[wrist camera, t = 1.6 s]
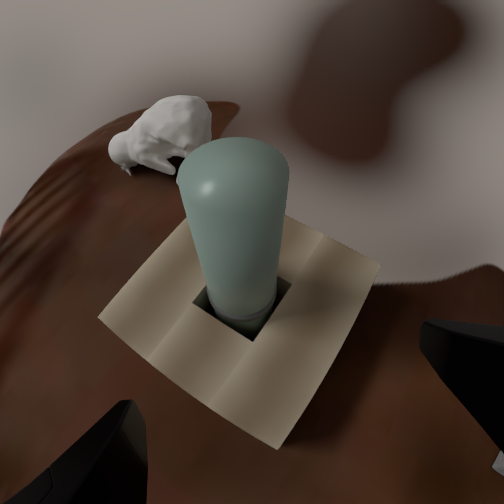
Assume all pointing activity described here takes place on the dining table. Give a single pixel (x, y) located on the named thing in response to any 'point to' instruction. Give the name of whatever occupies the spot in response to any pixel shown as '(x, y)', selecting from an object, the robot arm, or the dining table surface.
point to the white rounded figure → (163, 134)
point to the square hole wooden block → (234, 344)
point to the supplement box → (499, 463)
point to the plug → (237, 225)
